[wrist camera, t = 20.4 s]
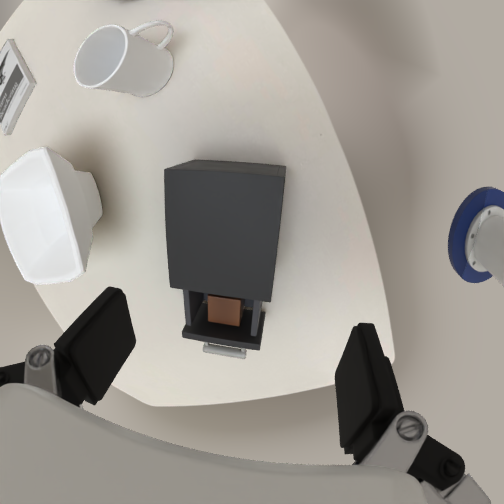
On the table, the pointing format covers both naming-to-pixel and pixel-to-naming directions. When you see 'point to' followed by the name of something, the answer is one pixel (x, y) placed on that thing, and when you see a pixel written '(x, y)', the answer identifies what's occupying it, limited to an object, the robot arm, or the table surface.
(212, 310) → the block
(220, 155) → the table surface
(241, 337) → the pull-out drawer
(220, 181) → the dark drawer cabinet
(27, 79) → the book
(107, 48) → the mug
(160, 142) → the table surface
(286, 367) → the table surface
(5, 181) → the bowl
